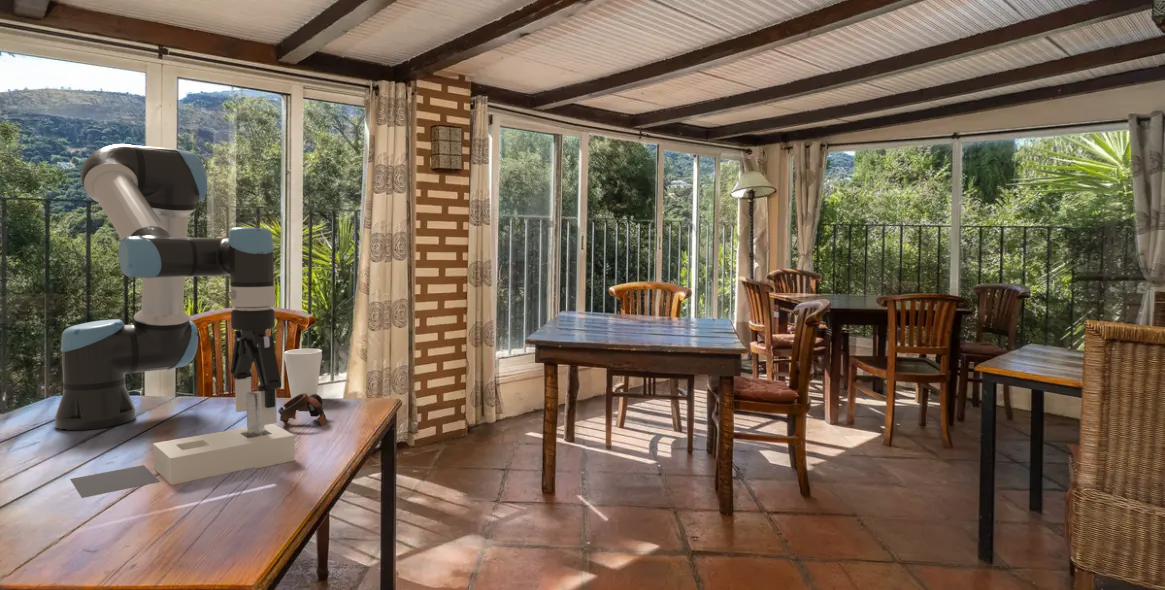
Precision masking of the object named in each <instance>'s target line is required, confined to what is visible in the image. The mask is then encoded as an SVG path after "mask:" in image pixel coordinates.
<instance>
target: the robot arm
mask: <svg viewBox="0 0 1165 590" xmlns="http://www.w3.org/2000/svg"><path fill="white" fill-rule="evenodd" d="M80 181H81V184H82V187H83V190H84V191H85V193H86V194H87V195H88V197H90V198H91V199H92V200H93V201H95V202H97V203H99V205H100V206H101V208H102V210H103V212H104V213H105V215H106V216H107V218H108V219H109V221H110V223H111V225H112V226H113V228H114V230H115V231H116V233H117V235H118V236H119V237H120V238H119V239H121V241H120V243H119V245H118V250H117V251H118V255H117V256H118V257H117V258H118V263H119V265H120V270H121V272H122V274H123V275H125V276H126V277H129V278H142V291H141V292H142V295H141V296H142V297H141V309H140V310H138V311H137V312H136V313H135V314H134V315H133V323H132V324H125V323H124V322H123V320H121V319H118V318H116V319H115V318H114V319H113V318H111V319H105V320H104V319H103V320H95V321H89V322H85V323H80V324H79V323H78V324H76V325H72V326H69V327H67V328H65V329H64V330H63V331H62V333H61V343H60V349H59V350H60V352H61V363H62V366H61V367H62V368H61V369H62V384H63V387H62V388H63V389H62V390H63V391H62V392H63V393H62V396H61V399H60V401H59V405H58V408H57V410H56V412H55V413H56V414H55V416H54V425H55V426H54V427H55V428H56V429H58V428H59V429H58V430H62V429H66V430H65V431H85V430H87V431H88V430H96V429H103V428H109V427H114V426H119V425H122V424H125V423H129V422H131V421H134V420H135V419H136V408H135V405H134V403H133V401H132V399H131V396H130V393H129V392H128V391H129V390H128V389H127V387H126V375H128V374H135V373H144V372H154V371H163V370H167V371H168V370H172V369H176V368H183V367H186V366H188V365H189V364H190V363H191V362H193V360H194V358H195V355H196V354H197V351H198V345H199V335H198V328H197V324H195V322H194V321H192V320H190V319H191V318H190V315H189V314H188V313H187V312H186V311H184V297H185V282H186V281H185V280H186V277H220V276H221V277H223V276H224V277H229V279H230V281H229V282H230V291H228V293H227V296H228V298H229V297H230V306H231V307H232V308H234V309H232V311H230V318H231V319H230V320H231V321H230V322H231V323H230V324H231V328H232V330H235V331H234V343H233V344H234V347H233V353H232V359H231V366H230V374H231V375H233V378H234V390H235V396H234V397H235V412H236V413H241V412H247V402H246V393H249V392H252V381H251V380H252V379H251V377H253V374H252V372H251V369H252V366H253V363H254V366H255V369H256V371H255V372H256V374H257V376H258V377H257V378H258V381H259V385H260V386H259V387H258V389H257V391H259V392H260V425H262V426H263V425H269V424H274V425H275V424H277V423H278V417H277V412H278V410H277V389H278V388H281V387H282V381H281V375H280V370H279V366H278V361H277V357H276V356H277V355H276V352H275V344H274V343H275V342H274V336H273V335H268V336H267V333H266V331H267V330H270V329H273V328H275V325H276V312H275V310H274V309H273V308H272V307H274V306H275V304H276V301H275V300H276V299H275V294H276V293H275V292H276V291H275V283H274V277H275V276H274V275H275V272H274V270H275V269H274V267H275V266H274V264H275V263H274V250H275V246H274V241H273V232H272V231H271V229H269V228H265V227H232V228H231V229H229V233H228V237H188V226H189V225H188V224H189V216H190V215H191V214H192V213H195V211H196V210H197V202H198V203H199V202H202V201H204V200H205V199H206V197H207V194H208V178H207V173H206V169H205V166H204V164H203V162H202V160H201V158H199V156H198V155H197V154H196V153H194V152H192V151H188V150H182V149H177V148H168V147H166V148H165V147H157V146H145V145H144V146H143V145H133V144H127V143H126V144H125V143H119V144H112V145H111V144H110V145H107V146H104V147H102V148H99V149H97V150H96V151H94V152H93V153H92V154H90V155H89V157H87V158H86V160H85V161H84V163H83V165H82V167H81V170H80Z"/></svg>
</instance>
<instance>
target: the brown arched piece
mask: <svg viewBox="0 0 1165 590" xmlns="http://www.w3.org/2000/svg"><path fill="white" fill-rule="evenodd" d="M297 411H298V412H308V413H309V416H310V417H315V418H317V420H316V421H318V422H319V426H320V427H323V426H324V425H326V423H327V421H328V418H327V417H326V414H325V411H324V409H323V398H322V397H321V396H320V395H319V394H318V393H317V394H313V395H311V396H308V395H307V393H303V394H300V395H298V396H296V397H294V398H293V399H292V398H291V399H290V400H288V401H287V402H285V403H284V404H283V407H280V408H278V410H277V412H278V414H279V415H280V416H279V417H280V418H279V420H280V422H283V424H285V425H287V424H288V422H289V421H290V419H293V420H296V419H297V417H296V414H297Z"/></svg>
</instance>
